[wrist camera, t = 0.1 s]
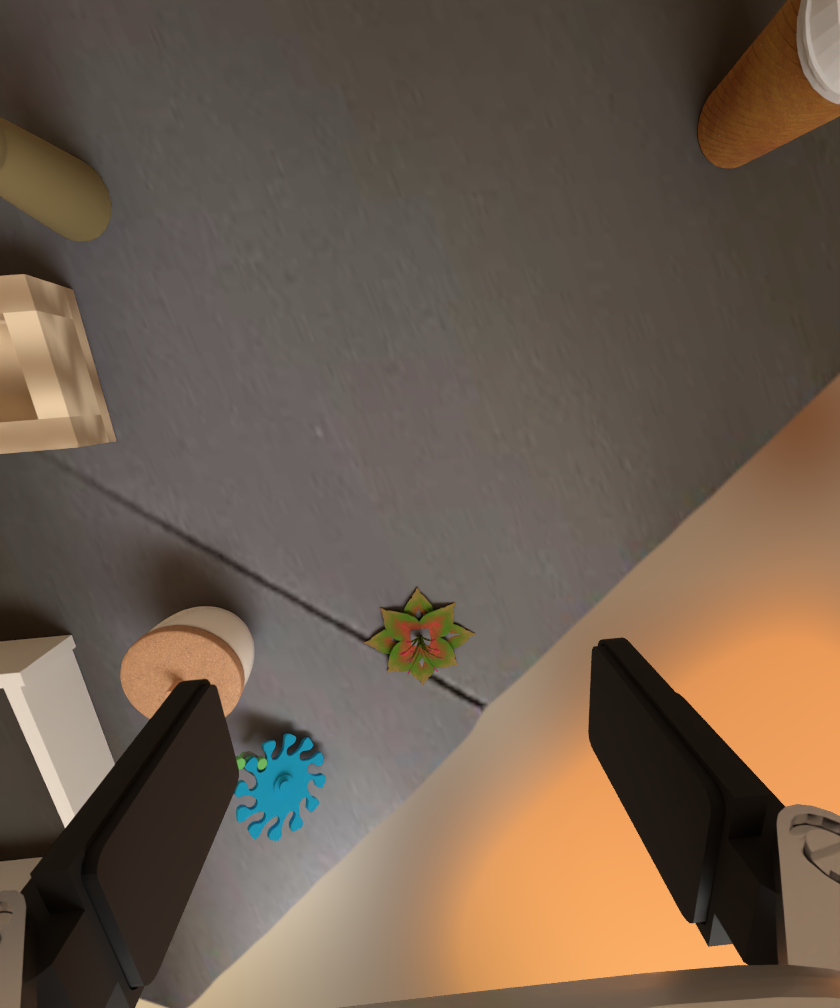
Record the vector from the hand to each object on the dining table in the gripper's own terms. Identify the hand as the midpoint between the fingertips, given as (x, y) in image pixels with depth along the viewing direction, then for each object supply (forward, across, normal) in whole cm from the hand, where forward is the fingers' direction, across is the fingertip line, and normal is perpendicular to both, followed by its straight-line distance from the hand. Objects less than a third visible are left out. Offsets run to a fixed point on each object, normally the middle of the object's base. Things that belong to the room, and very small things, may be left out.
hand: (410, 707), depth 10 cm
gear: (+32, +16, +32) cm, 48 cm away
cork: (+31, +25, -25) cm, 47 cm away
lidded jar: (+31, +22, +16) cm, 41 cm away
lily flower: (+31, 0, +19) cm, 37 cm away
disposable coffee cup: (+31, -30, -27) cm, 51 cm away
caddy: (+31, +33, -12) cm, 47 cm away
